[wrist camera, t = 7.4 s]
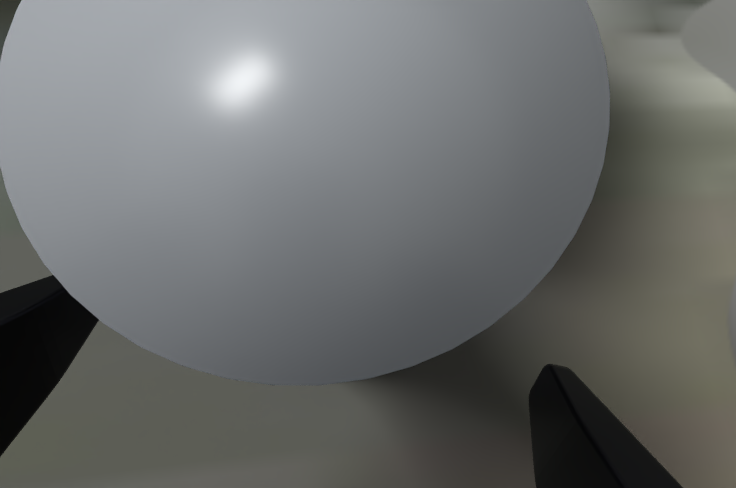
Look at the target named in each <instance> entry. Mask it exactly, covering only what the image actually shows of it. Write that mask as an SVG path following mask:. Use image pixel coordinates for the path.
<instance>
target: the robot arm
mask: <svg viewBox="0 0 736 488" xmlns="http://www.w3.org/2000/svg"><path fill="white" fill-rule="evenodd" d="M98 321H99V319H98V318H97V317H95V316H94V315H93V314H92V313H91V312H90V311H89V310H87V309H86V308H85V307H84V306H83V305H82V304H81V303H79V302H78V301H77V300H76V299H75V298H74V297H73V296H71V295H70V294H69V292H68V291H67V290H66V289H65V288H64V287H63V285H62V284H61V283H60V282H59V281H58V279H57V278H56V277H55V276H54V275H52V276H49V277H46V278H43V279H40V280H37V281H35V282H32V283H29V284H26V285H23V286H20V287H17V288H14V289H11V290H8V291H5V292H2V293H0V456H1V455H2V454H3V453H4V451H5V450H6V449H7V448H8V446H9V445H10V444H11V442H12V441H13V440H14V439H15V437H16V436H17V435H18V434H19V432H20V431H21V430H22V429H23V427H24V426H25V425H26V423H27V422H28V421H29V420H30V418H31V417H32V416H33V415H34V413H35V412H36V411H37V409H38V408H39V407H40V406H41V404H42V403H43V402H44V401H45V399H46V398H47V397H48V396H49V394H50V393H51V392H52V390H53V389H54V388H55V386H56V385H57V384H58V382H59V381H60V379H61V378H62V376H63V375H64V373H65V372H66V371H67V369H68V367H69V366H70V364H71V363H72V361H73V360H74V358H75V356H76V355H77V353H78V352H79V350H80V349H81V347H82V346H83V344H84V342H85V341H86V339H87V338H88V336H89V335H90V333H91V331H92V330H93V328H94V327H95V325H96V324H97V322H98ZM529 413H530V425H531V438H532V451H533V463H534V473H535V482H536V488H683V487H682V486H681V485H680V484H679V483H678V482H677V481H676V480H675V479H674V478H673V477H672V476H671V474H670V473H669V472H668V471H667V470H666V469H665V468H664V467H663V466H662V465H661V464H660V463H659V462H658V461H657V460H656V459H655V458H654V457H653V456H652V454H651V453H650V452H649V451H648V450H647V449H646V448H645V447H644V446H643V445H642V444H641V443H640V442H639V441H638V440H637V439H636V438H635V437H634V436H633V434H632V433H631V432H630V431H629V430H628V429H627V428H626V427H625V426H624V425H623V424H622V423H621V422H620V421H619V420H618V419H617V418H616V417H615V416H614V414H613V413H612V412H611V411H610V410H609V409H608V408H607V407H606V406H605V405H604V404H603V403H602V402H601V401H600V400H599V399H598V398H597V397H596V395H595V394H594V393H593V392H592V391H591V390H590V389H589V388H588V387H587V386H586V385H585V384H584V383H583V382H582V381H581V380H580V379H579V378H578V377H577V375H576V374H575V373H574V372H573V371H572V370H570V369H569V368H567V367H563V366H558V365H553V364H547V365H546V366H544V368H543V369H542V371H541V373H540V374H539V376H538V378H537V380H536V381H535V383H534V385H533V387H532V388H531V391H530V394H529Z"/></svg>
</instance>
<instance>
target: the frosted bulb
mask: <svg viewBox="0 0 736 488" xmlns="http://www.w3.org/2000/svg"><path fill="white" fill-rule="evenodd" d="M609 125H610V88H609V80H608V72H607V64H606V57H605V53H604V50H603V46H602V42H601V39H600V35H599V31H598V28H597V24H596V22H595V19H594V17H593V15H592V12H591V10H590V8H589V5H588V3H587V0H22V1H21V3H20V4H19V6H18V8H17V10H16V13H15V16H14V19H13V21H12V24H11V27H10V29H9V32H8V35H7V37H6V40H5V43H4V47H3V52H2V56H1V61H0V166H1V170H2V175H3V179H4V183H5V187H6V191H7V193H8V196H9V198H10V201H11V203H12V205H13V208H14V210H15V213H16V215H17V217H18V220H19V222H20V225H21V227H22V229H23V230H24V232H25V234H26V235H27V237H28V239H29V240H30V242H31V244H32V245H33V247H34V248H35V250H36V252H37V253H38V255H39V257H40V258H41V260H42V262H43V263H44V264H45V265H46V266H47V268H48V269H49V270H50V271H51V272H52V274H53V275H54V276H55V277H56V278H57V279H58V281H59V282H60V283H61V284H62V285H63V287H64V288H65V289H66V290H67V291H68V292H69V294H70V295H71V296H73V297H74V298H75V299H76V300H77V301H78V302H79V303H81V304H82V305H83V306H84V307H85V308H86V309H87V310H89V311H90V312H91V313H92V314H93V315H94V316H95V317H97V318H98V319H99V320H100V321H101V322H102V323H104V324H105V325H107V326H108V327H110V328H112V329H113V330H115V331H116V332H118V333H119V334H121V335H123V336H124V337H126V338H127V339H129V340H130V341H132V342H133V343H135V344H137V345H138V346H140V347H142V348H144V349H146V350H148V351H151V352H153V353H155V354H157V355H159V356H162V357H164V358H166V359H168V360H171V361H173V362H175V363H177V364H179V365H182V366H185V367H188V368H192V369H195V370H199V371H202V372H206V373H209V374H213V375H216V376H219V377H223V378H226V379H233V380H240V381H247V382H254V383H261V384H268V385H327V384H334V383H342V382H349V381H357V380H364V379H369V378H373V377H376V376H380V375H383V374H387V373H391V372H394V371H398V370H402V369H405V368H409V367H412V366H414V365H417V364H419V363H421V362H424V361H426V360H428V359H431V358H433V357H435V356H438V355H440V354H442V353H445V352H447V351H449V350H452V349H454V348H455V347H457V346H458V345H460V344H462V343H463V342H465V341H467V340H468V339H470V338H472V337H473V336H475V335H477V334H478V333H480V332H482V331H483V330H485V329H487V328H488V327H490V326H491V325H493V324H494V323H495V322H496V321H497V320H499V319H500V318H501V317H502V316H504V315H505V314H506V313H507V312H509V311H510V310H511V309H512V308H513V307H515V306H516V305H517V304H518V303H520V302H521V301H522V300H523V299H524V298H525V297H526V296H527V295H528V294H529V293H530V292H531V291H532V290H533V289H534V287H535V286H536V285H537V284H538V283H539V282H540V281H541V280H542V279H543V278H544V277H545V276H546V274H547V273H548V272H549V271H550V270H551V269H552V268H553V266H554V265H555V263H556V262H557V261H558V259H559V258H560V256H561V255H562V253H563V252H564V250H565V249H566V247H567V246H568V245H569V243H570V242H571V240H572V239H573V237H574V236H575V234H576V232H577V230H578V228H579V226H580V224H581V222H582V220H583V218H584V216H585V214H586V212H587V209H588V207H589V205H590V203H591V201H592V199H593V196H594V192H595V189H596V186H597V183H598V180H599V177H600V174H601V171H602V167H603V164H604V158H605V152H606V146H607V140H608V134H609Z"/></svg>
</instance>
